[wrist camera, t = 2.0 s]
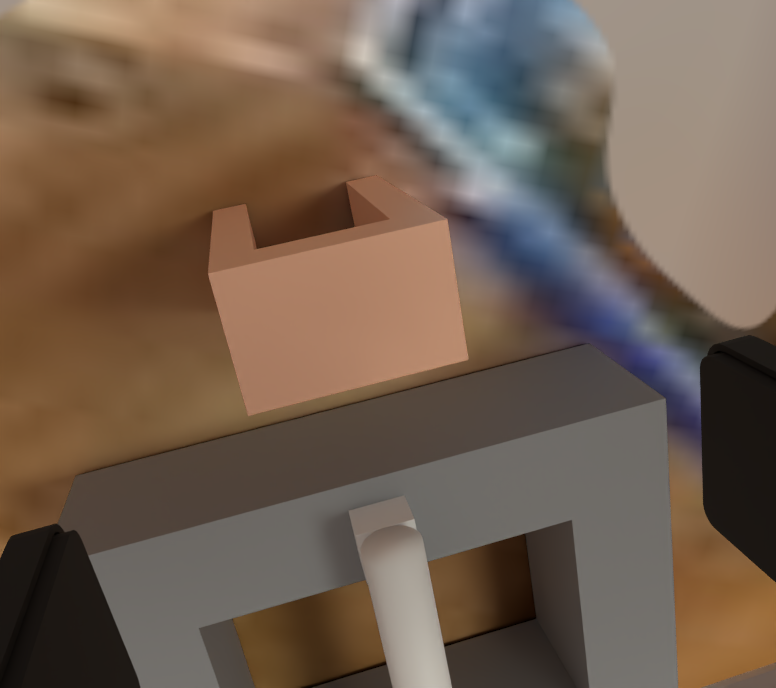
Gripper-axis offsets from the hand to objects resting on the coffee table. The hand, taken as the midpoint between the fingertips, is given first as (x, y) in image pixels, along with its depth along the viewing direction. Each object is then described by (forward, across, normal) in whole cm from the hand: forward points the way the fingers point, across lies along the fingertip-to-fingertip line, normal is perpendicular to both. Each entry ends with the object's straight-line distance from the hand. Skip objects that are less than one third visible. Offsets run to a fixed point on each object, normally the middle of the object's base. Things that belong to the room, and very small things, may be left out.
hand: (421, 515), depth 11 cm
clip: (+19, -1, 0) cm, 19 cm away
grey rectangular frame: (+19, -1, +16) cm, 25 cm away
